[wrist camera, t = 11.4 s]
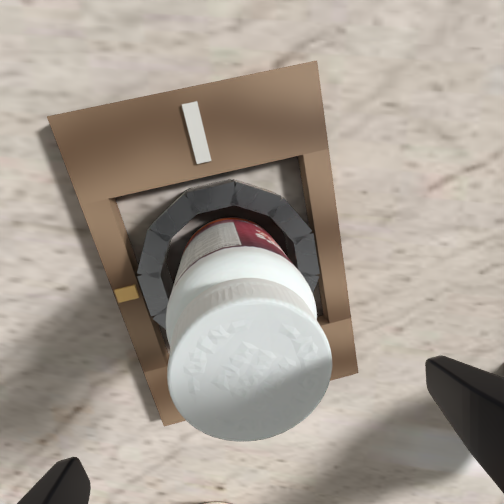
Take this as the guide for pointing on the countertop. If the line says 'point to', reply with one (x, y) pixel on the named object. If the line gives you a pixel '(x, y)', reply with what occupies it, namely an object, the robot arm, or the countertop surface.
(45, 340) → the countertop surface
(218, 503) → the lidded bowl
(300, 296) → the pill bottle
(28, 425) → the countertop surface
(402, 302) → the countertop surface
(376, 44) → the countertop surface
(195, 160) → the socket board
